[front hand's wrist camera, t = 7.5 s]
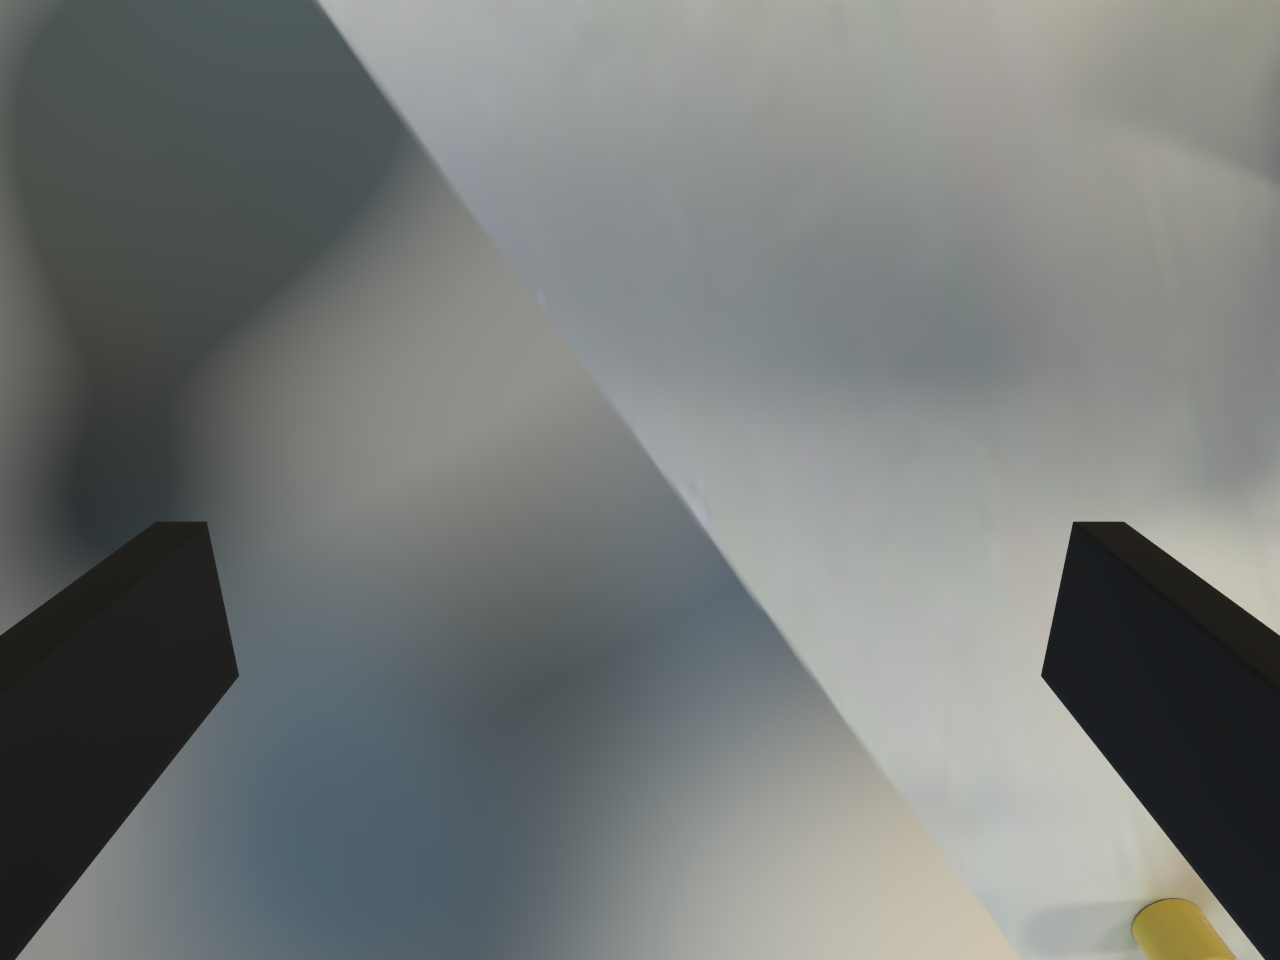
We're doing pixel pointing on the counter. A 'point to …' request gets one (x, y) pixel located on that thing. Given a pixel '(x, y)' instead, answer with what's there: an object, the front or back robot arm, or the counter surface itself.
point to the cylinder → (1178, 933)
